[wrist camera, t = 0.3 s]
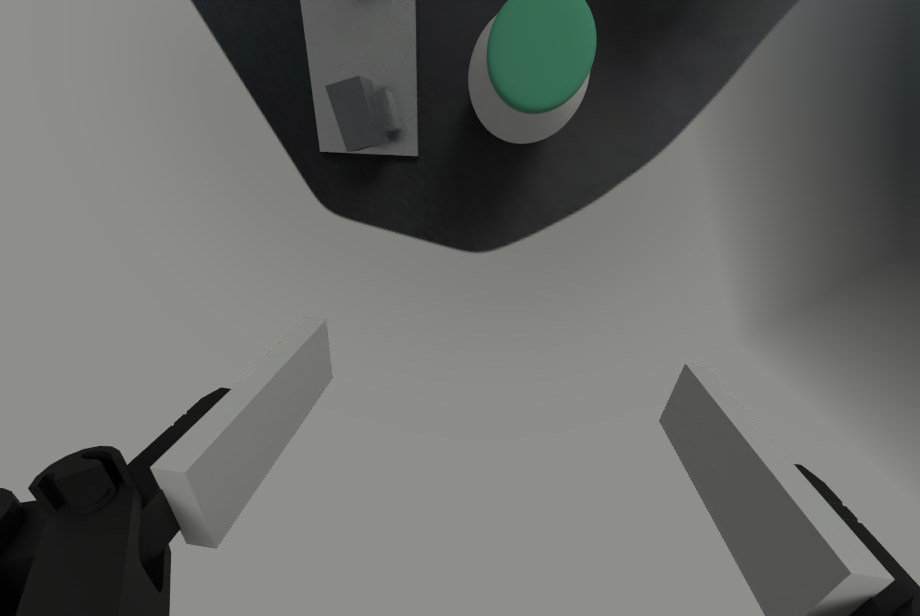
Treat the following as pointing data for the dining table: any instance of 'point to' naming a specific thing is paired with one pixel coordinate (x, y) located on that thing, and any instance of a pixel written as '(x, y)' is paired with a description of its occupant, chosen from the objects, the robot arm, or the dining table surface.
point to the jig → (364, 74)
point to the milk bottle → (532, 68)
